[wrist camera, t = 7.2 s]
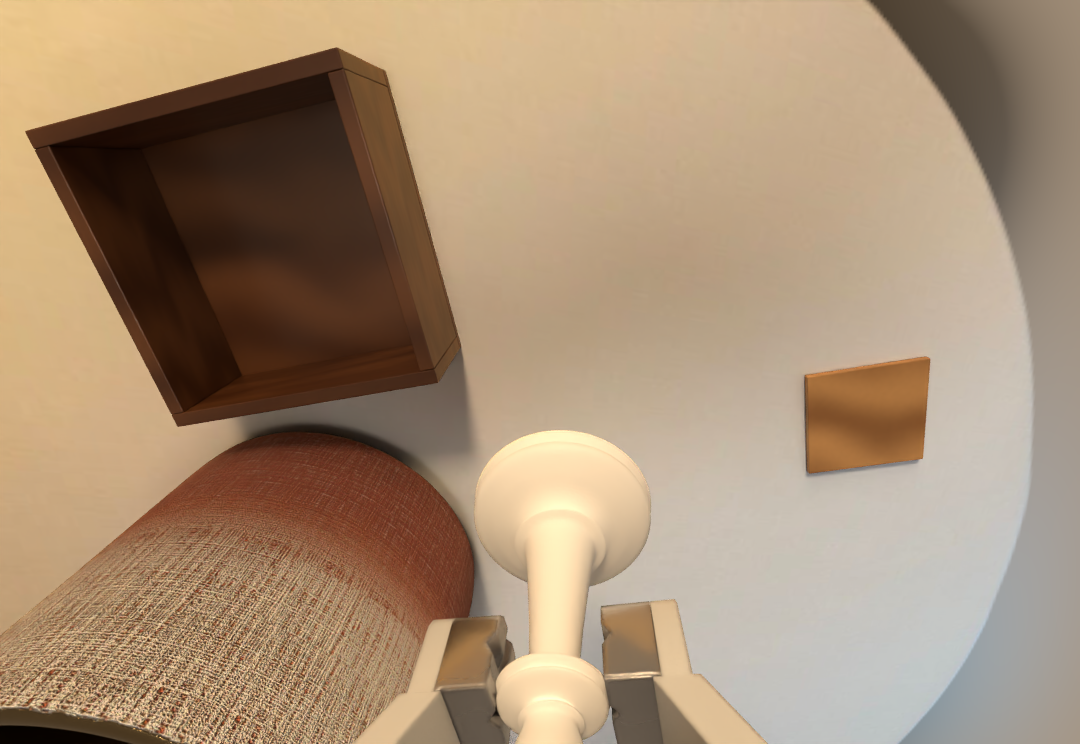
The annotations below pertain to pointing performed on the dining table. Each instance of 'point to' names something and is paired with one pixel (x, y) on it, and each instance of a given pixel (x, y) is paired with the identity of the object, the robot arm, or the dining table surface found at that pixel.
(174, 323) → the crate
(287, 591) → the planter
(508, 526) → the chess piece
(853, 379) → the coaster
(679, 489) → the dining table surface
